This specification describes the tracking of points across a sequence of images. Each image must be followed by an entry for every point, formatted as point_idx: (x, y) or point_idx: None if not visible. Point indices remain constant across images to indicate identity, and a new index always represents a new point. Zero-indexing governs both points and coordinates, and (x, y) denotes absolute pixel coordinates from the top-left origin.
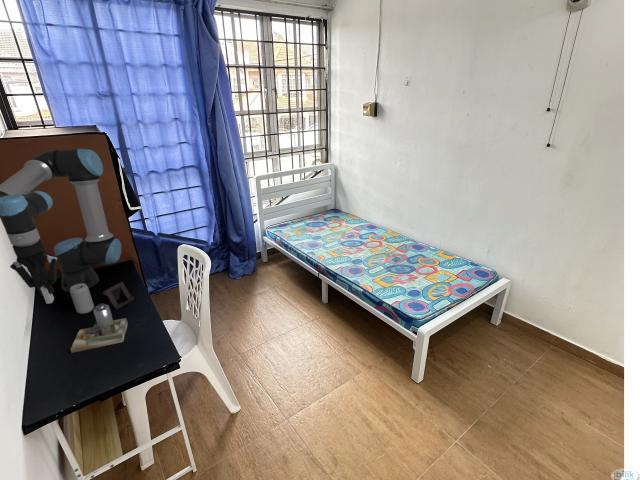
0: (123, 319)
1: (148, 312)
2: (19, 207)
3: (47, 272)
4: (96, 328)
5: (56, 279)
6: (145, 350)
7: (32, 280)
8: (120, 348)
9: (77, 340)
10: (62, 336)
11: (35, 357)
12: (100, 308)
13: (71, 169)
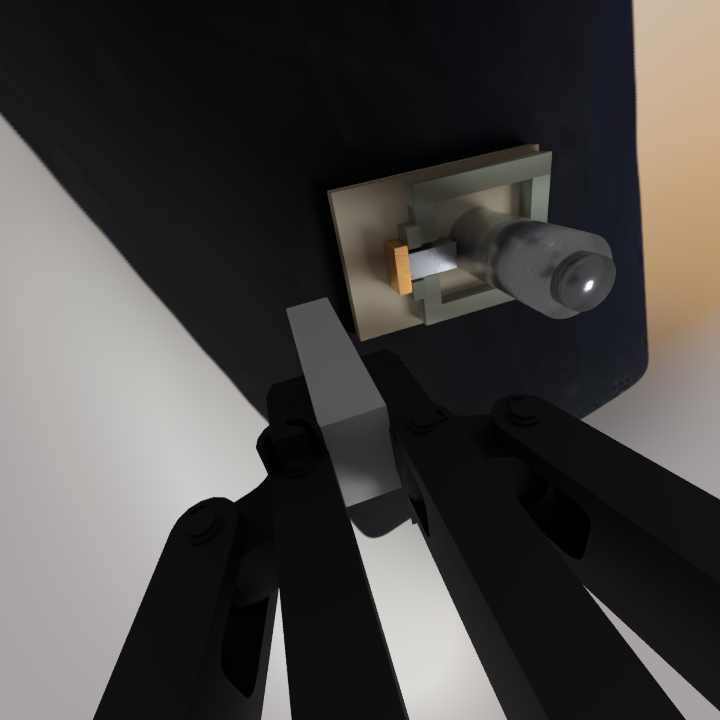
0: (541, 163)
1: (614, 41)
2: None
3: (597, 610)
4: (434, 229)
5: (552, 417)
6: (585, 336)
7: (220, 606)
8: (515, 321)
9: (362, 285)
10: (244, 209)
11: (221, 351)
12: (587, 307)
13: None
